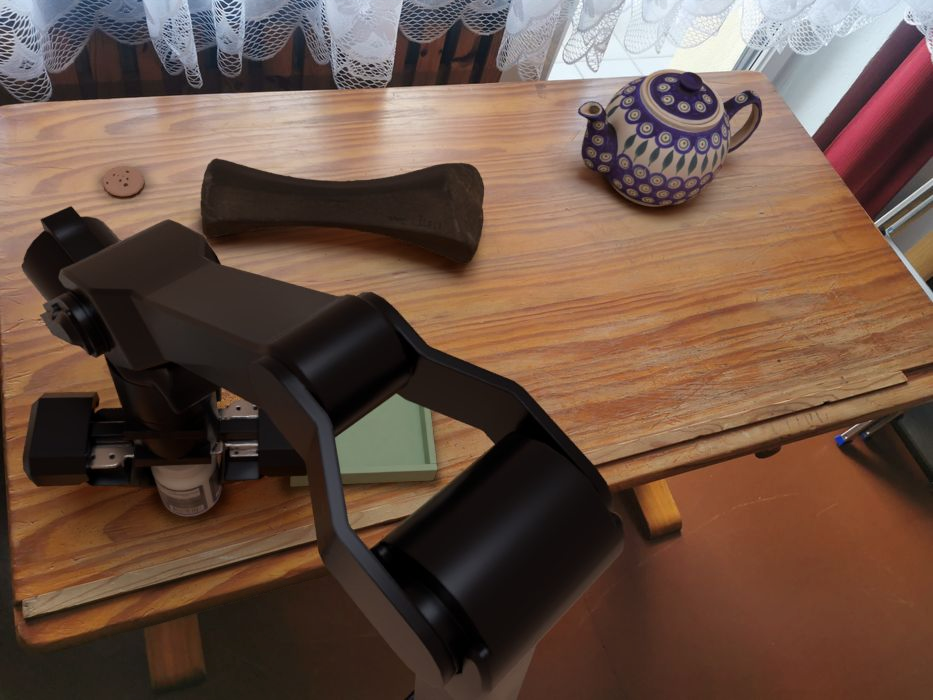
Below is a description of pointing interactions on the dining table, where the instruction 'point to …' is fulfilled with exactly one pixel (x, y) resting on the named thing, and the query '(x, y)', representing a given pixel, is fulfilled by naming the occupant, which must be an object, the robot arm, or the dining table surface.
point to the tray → (386, 446)
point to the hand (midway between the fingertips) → (189, 481)
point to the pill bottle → (188, 487)
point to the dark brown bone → (352, 205)
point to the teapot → (664, 136)
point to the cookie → (123, 181)
